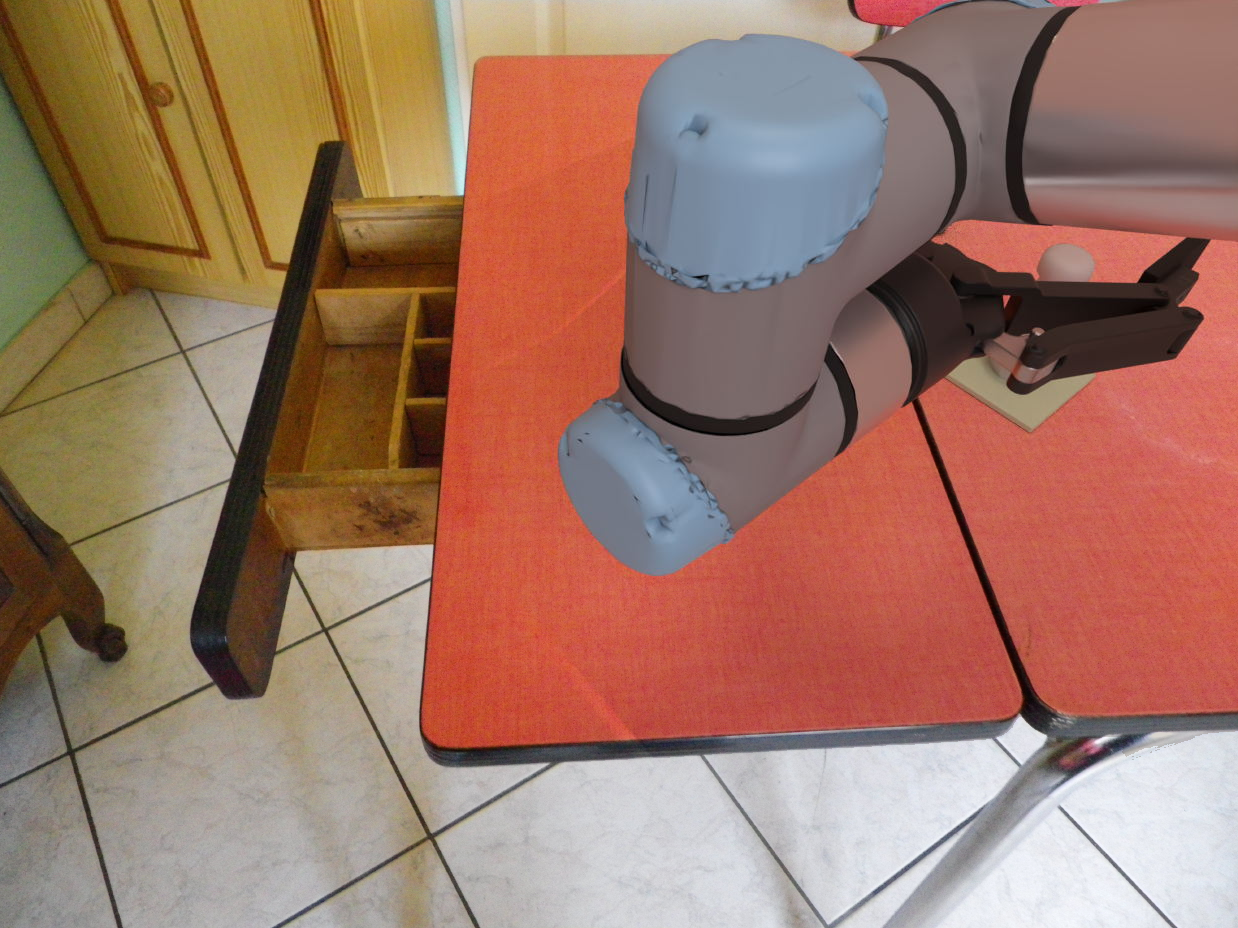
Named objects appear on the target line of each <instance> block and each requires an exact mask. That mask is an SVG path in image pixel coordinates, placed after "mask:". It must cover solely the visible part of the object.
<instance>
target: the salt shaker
mask: <svg viewBox="0 0 1238 928" xmlns="http://www.w3.org/2000/svg"><path fill="white" fill-rule="evenodd" d="M1096 265H1097V263H1096V261H1095V259H1094V257H1093V255H1092V254H1091V252H1089V251H1088V250H1087V249H1085V248H1083V247H1081V246H1079V245H1077V244H1072V243H1067V242H1064V243H1055V244H1052V245H1051V246H1049V247H1046V248H1045V250H1044V251H1043V253H1042V254H1041V256H1040V257H1039V260H1038V263H1037V266H1036V272H1037V274H1038V276H1039V277H1038V278H1037V280H1036V281H1065V282H1091V279H1092V278H1093V276H1094V273H1095V269H1096ZM1024 335H1030V334H1023V335H1021V336H1024ZM990 365H991V366H992V367H993V369H994V370H995V372H996V373H997V375H998V376H999V377H1000V378H1003V379H1006V380H1007V379H1008V378H1009V376H1010V374H1011V372H1010V371H1008V370H1007V369H1006V368H1004V367H1003V366H1001V365H1000V364H999V363H997V362H996V361H995V360H993V359H992V358H990Z"/></svg>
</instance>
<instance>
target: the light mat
mask: <svg viewBox="0 0 1238 928" xmlns="http://www.w3.org/2000/svg"><path fill="white" fill-rule="evenodd" d="M1095 377H1096V373H1092V374H1086V375H1080V376H1075V377H1069V378H1063V379H1057V380H1051V381H1050V382H1048V383H1046V384H1045V385H1043V386H1041V387H1040V388H1038V389H1036V390H1035V391H1033V392H1031V393H1029V394H1027V395H1019V394H1016V393H1014V392H1012V391H1010V390H1009V389H1008V387H1007V385H1006V382H1007V380H1006V379H1003V378H1000V377H999V376H998V375H997V373H996V372H995V370H994V369H993V367H992V366H991V365H990V357H989V356H988V355H987V356H984V357H980V358H972V359H968V360H965V361H963V362H962V363H961V364H960V365H958V366H957V367H956V368H955V369H954V370H953V371H952V372H951V373H949V374H948V375H947V376H946V377H944V378H943V379H946V380H948V381H949V382H951V383H952V384H953V385H955V386H957V387H958V388H960V389H961V390H963V391H964V392H965V393H967V394H969V395H971V396H972V397H974V398H975V399H977V400H978V401H979V402H981V403H983V404H984V405H986V406H987V407H989V408H990V409H992V410H993V411H995V412H997V413H998V414H1000V415H1001V416H1003V417H1004V418H1006V419H1008V420H1009V421H1011V422H1012V423H1014V424H1015V425H1017V426H1019V428H1021V429H1022V430H1024V431H1026V432H1027V433H1029V434H1032V433H1033V432H1034V431H1035V430H1036V429H1037V428H1038V427H1039V426H1041V425H1042V424H1043V423H1044V422H1045V421H1046V420H1048V419H1049V418H1050V417H1051V416H1053V414H1055V413H1056V412H1057V411H1058V410H1059V409H1060V408H1061V407H1063V406H1064V405H1065V404H1066V403H1068V402H1069V401H1070V400H1071V399H1072V398H1073V397H1074V396H1075V395H1077V394H1078V393H1079V392H1081V391H1082V389H1084V388H1085V387H1086V386H1087V385H1088V384H1090V383H1091V382H1093V380H1094V379H1095Z"/></svg>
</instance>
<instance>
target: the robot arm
mask: <svg viewBox="0 0 1238 928" xmlns="http://www.w3.org/2000/svg"><path fill="white" fill-rule="evenodd" d="M635 124H636V125H635V135H634V146H633V149H632V151H631V160H630V161H631V163H630V169H629V181H628V184H627V186H626V189H625V191H624V193H623V203H624V207H623V208H624V209H623V210H624V211H623V215H624V224H625V227H626V251H625V252H626V253H625V254H626V255H625V256H626V257H625V284H624V285H625V286H624V287H625V289H624V317H623V345H622V347H621V351H620V360H619V376H618V379H619V381H618V388H617V390H616V391H615V392H614V393H612V394H611V395H609V396H607V397H604V398H600V399H596V401H594V402H593V403H592V404H591V406H590V407H589V408H588V409H586V410H585V411H584V412H582V413H581V414H580V415H579V416H577V417H576V418H575V419H573V420H572V421H571V422H570V423H569V424H568V425H567V426H566V428H565V430H564V431H563V434H562V435H561V436H560V438H559V440H558V446H557V463H558V470H559V475H560V477H561V480H562V481H561V482H562V484H563V487H564V489H565V491H566V494H567V496H568V498H569V501H570V503H571V504H572V506H573V508H574V510H575V512H576V514H577V515H578V517H579V518H580V520H581V521H582V523H583V525H584V526H585V528H586V529H587V530H588V532H589V533H590V534H591V535H592V536H593V538H594V539H595V540H596V541H597V542H598V543H599V544H600V545H601V547H603V548H604V549H605V550H606V551H607V552H608V553H609V554H610V555H611V556H612V557H613V558H614V559H615V560H617V561H618V562H619V563H621V564H622V565H623V566H626V568H628V569H631V570H633V571H634V572H637V573H639V574H643V575H646V576H650V577H665V576H669V575H672V574H675V573H677V572H679V571H681V570H682V569H683V568H685V567H686V566H688V565H690V564H691V563H692V562H695V561H696V560H697V559H699V558H701V557H702V556H704V555H705V554H707V553H708V552H710V551H712V550H713V549H714V548H716V547H718V546H720V545H721V544H722V545H727V544H728V543H730V542H731V541H732V540H734V539H735V537H736V534H737V533H738V532H739V531H740V530H742V529H743V528H745V527H746V526H747V525H748V524H750V523H751V522H753V521H754V520H755V519H756V518H758V517H759V516H760V515H761V514H763V513H764V512H765V511H768V510H769V508H771V507H772V506H773V505H775V504H776V503H778V502H779V501H780V500H781V499H783V498H784V497H785V496H787V495H788V494H789V493H790V492H792V491H793V490H794V489H796V488H797V487H798V486H800V485H801V484H802V483H803V482H805V481H806V480H808V479H809V478H810V477H811V476H813V475H814V474H815V473H817V472H818V471H819V470H821V469H822V468H823V467H824V466H826V465H827V464H828V463H830V462H832V461H833V460H834V459H836V457H838V456H839V455H841V454H843V453H844V452H845V451H847V450H848V449H850V448H851V447H852V446H853V445H855V444H856V443H858V442H859V441H860V440H861V439H863V438H864V437H865V436H867V435H869V434H870V433H871V432H873V431H874V430H875V429H877V428H878V427H879V426H880V425H882V424H883V423H884V422H886V421H888V419H890V418H891V417H892V416H894V415H895V414H896V413H897V412H899V410H900V409H902V408H904V407H906V406H908V405H909V404H911V403H912V402H914V401H915V400H916V399H917V398H919V397H920V396H922V395H923V394H924V393H926V392H927V391H928V390H929V389H931V388H932V387H934V386H935V385H936V384H938V383H939V382H940V381H942V380H943V379H945V378H944V377H946V376H947V375H948V374H949V373H951V372H952V371H953V370H954V369H955V368H956V367H957V366H958V365H960V364H961V363H962V362H963V361H965V360H968V359H972V358H980V357H984V356H987V355H988V356H989V357H990V358H992V359H993V360H995V361H996V362H997V363H999V364H1000V365H1001V366H1003V367H1004V368H1006V369H1007V370H1008V371H1010V372H1011V374H1010V376H1009V378H1008V379H1007V382H1006V385H1007V387H1008V389H1009V390H1010V391H1012V392H1014V393H1016V394H1019V395H1027V394H1029V393H1031V392H1033V391H1035V390H1036V389H1038V388H1040V387H1041V386H1043V385H1045V384H1046V383H1048V382H1050V381H1051V380H1057V379H1063V378H1069V377H1075V376H1080V375H1086V374H1092V373H1094V374H1097V373H1102V372H1104V373H1105V372H1109V371H1114V370H1121V369H1127V368H1132V367H1137V366H1143V365H1150V364H1156V363H1162V362H1167V361H1173V360H1175V359H1177V358H1178V356H1179V355H1180V354H1181V352H1182V351H1183V349H1184V348H1185V347H1186V345H1187V344H1188V343H1189V341H1190V340H1191V338H1192V337H1193V336H1194V334H1195V333H1196V331H1197V330H1198V328H1199V327H1200V325H1201V324H1202V322H1203V321H1204V320H1205V316H1204V314H1203V313H1202V312H1201V311H1200V310H1198V309H1197V308H1194V307H1192V306H1187V305H1186V306H1185V305H1184V306H1180V305H1181V304H1182V303H1183V302H1184V301H1185V300H1186V299H1187V297H1188V295H1189V294H1190V292H1191V291H1192V290H1193V288H1194V286H1195V285H1196V283H1197V282H1198V280H1199V279H1200V272H1198V271H1196V270H1194V269H1193V268H1194V266H1195V265H1196V264H1197V262H1198V260H1199V259H1200V257H1201V256H1202V255H1203V253H1204V252H1205V250H1206V249H1207V247H1208V246H1209V244H1210V242H1211V241H1212V240H1214V241H1223V242H1235V243H1236V242H1237V243H1238V0H1120V1H1119V0H1118V1H1110V2H1107V1H1106V2H1096V3H1086V4H1082V5H1075V6H1074V5H1071V6H1066V5H1065V6H1064V5H1063V6H1062V5H1061V6H1060V5H1059V6H1058V5H1056V4H1054V3H1053V2H1051V1H1050V0H952V1H947V2H944V3H942V4H939V5H937V6H935V7H934V8H932V9H931V10H930V11H928V12H926V13H924V14H923V15H919V16H917V17H916V18H915V19H913V20H912V21H911V22H910V23H908V24H907V25H906V26H904V27H902V28H900V29H899V30H896V31H895V32H893V33H891V34H889V35H888V36H885V37H883V38H882V39H880V40H878V41H876V42H874V43H872V44H870V45H869V46H867V47H865V48H863V49H862V50H860V51H858V52H856V53H854V54H853V55H851V56H848V55H846V54H844V53H843V52H840V51H838V50H836V49H834V48H831V47H828V46H827V45H826V44H825V45H824V44H821V43H818V42H816V41H815V42H814V41H812V40H807V39H803V38H798V37H794V36H790V35H789V36H788V35H781V34H768V33H767V34H766V33H745V34H744V35H742V36H741V37H740V38H739V39H733V40H730V39H729V40H728V39H721V38H707V39H704V40H700V41H697V42H695V43H692V44H690V45H688V46H686V47H683V48H681V49H680V50H677V51H676V52H674V53H672V55H670V56H668V57H667V58H666V59H665V60H664V61H663V62H662V63H660V65H658V66H657V68H656V69H655V70H654V71H653V72H652V73H651V75H650V76H649V78H648V80H647V82H646V84H645V86H644V87H643V90H642V92H641V94H640V98H639V101H638V105H637V115H636V123H635ZM962 221H981V222H992V223H1003V224H1015V225H1026V226H1027V225H1028V226H1044V227H1053V226H1059V227H1071V228H1082V229H1092V230H1093V229H1094V230H1101V231H1103V230H1104V231H1114V232H1116V231H1117V232H1126V233H1136V234H1145V235H1146V234H1147V235H1157V236H1158V235H1159V236H1170V237H1178V238H1179V237H1180V238H1183V240H1181V241H1180V242H1179V243H1178V244H1176V245H1175V246H1173V248H1171V249H1169V250H1168V251H1167V252H1166V253H1165V254H1163V255H1162V256H1160V257H1159V258H1158V259H1157V260H1156V261H1154V262H1153V263H1152V264H1150V265H1149V266H1148V267H1147V268H1145V269H1144V270H1143V272H1142V273H1141V275H1140V277H1139V278H1138V280H1137V282H1116V281H1115V282H1113V281H1112V282H1109V281H1089V282H1065V281H1037V280H1036V278H1035V277H1034V274H1032V273H1031V272H1023V271H998V270H997V269H994V268H993V267H991V266H989V265H987V264H986V263H983V262H981V261H978V260H976V259H973V258H971V257H968V256H967V255H966V254H965V253H963V251H961V250H960V249H959V248H957V247H955V246H954V245H951V244H950V243H948V242H944V243H942V244H940V243H937V242H934V241H933V240H934V238H936V236H938V234H939V233H941V232H942V231H944V230H945V229H946V228H947V229H948V228H949V227H950V226H952V225H954V224H955V223H957V222H962ZM947 229H946V230H947ZM939 235H940V234H939ZM1004 296H1005V297H1006V296H1009V298H1008V299H1007V302H1006V304H1005V302H1004ZM1023 334H1030V335H1024V336H1021V335H1023Z"/></svg>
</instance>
